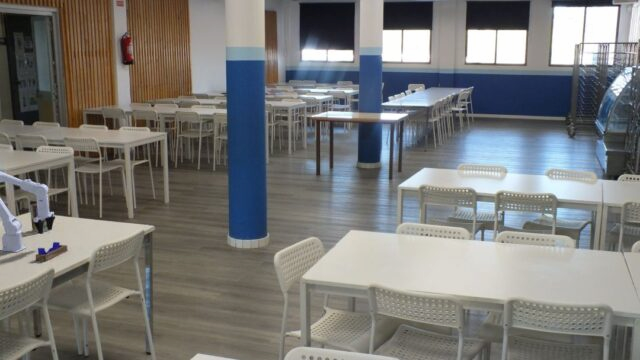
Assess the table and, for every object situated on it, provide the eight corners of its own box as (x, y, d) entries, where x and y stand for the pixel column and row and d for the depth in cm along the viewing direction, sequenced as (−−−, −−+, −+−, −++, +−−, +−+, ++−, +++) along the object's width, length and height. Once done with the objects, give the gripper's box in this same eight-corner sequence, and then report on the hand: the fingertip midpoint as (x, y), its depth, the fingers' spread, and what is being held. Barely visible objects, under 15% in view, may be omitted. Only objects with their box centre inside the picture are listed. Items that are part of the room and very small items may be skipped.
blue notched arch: (53, 252, 349) (52, 241, 348) (60, 253, 348) (59, 242, 346) (36, 259, 338) (35, 248, 337) (43, 260, 337) (42, 249, 335)
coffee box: (51, 230, 389) (48, 204, 386) (41, 233, 384) (38, 206, 380) (41, 228, 394) (39, 202, 390) (31, 230, 388) (29, 204, 385)
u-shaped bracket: (35, 260, 335) (35, 255, 335) (57, 249, 353) (57, 244, 352) (46, 261, 334) (45, 255, 333) (67, 250, 351) (67, 245, 350)
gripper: (40, 210, 343) (43, 235, 345) (58, 204, 356) (60, 228, 359) (29, 210, 344) (31, 235, 347) (46, 203, 358) (48, 227, 361)
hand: (45, 231), depth 353 cm, fingers open, 7 cm apart
